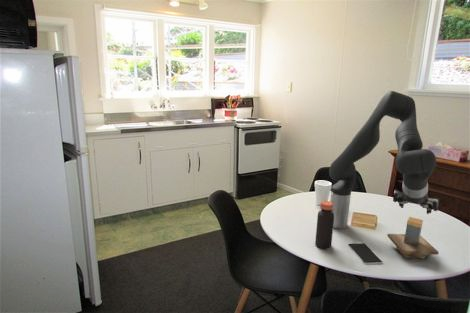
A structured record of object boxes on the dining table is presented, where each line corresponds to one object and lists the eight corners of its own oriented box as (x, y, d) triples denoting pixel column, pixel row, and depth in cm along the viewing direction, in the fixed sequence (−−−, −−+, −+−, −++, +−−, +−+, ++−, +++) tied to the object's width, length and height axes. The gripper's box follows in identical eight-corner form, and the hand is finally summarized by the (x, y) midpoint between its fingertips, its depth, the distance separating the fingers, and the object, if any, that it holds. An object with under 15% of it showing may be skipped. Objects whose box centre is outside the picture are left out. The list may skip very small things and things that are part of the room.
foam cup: (311, 200, 185) (312, 180, 182) (325, 200, 186) (327, 180, 183) (316, 207, 176) (318, 185, 173) (332, 206, 177) (334, 185, 174)
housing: (417, 246, 126) (421, 224, 124) (403, 242, 129) (407, 220, 127) (419, 241, 130) (423, 220, 128) (405, 238, 133) (409, 216, 131)
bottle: (313, 241, 139) (317, 199, 134) (328, 241, 138) (332, 200, 134) (317, 249, 132) (320, 206, 127) (332, 249, 132) (337, 206, 127)
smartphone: (364, 243, 137) (383, 261, 122) (364, 245, 137) (383, 264, 123) (347, 243, 136) (364, 262, 121) (347, 246, 136) (363, 265, 122)
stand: (401, 261, 124) (402, 250, 123) (386, 243, 138) (387, 233, 137) (436, 262, 124) (438, 251, 123) (418, 244, 137) (419, 234, 136)
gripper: (441, 183, 102) (439, 204, 114) (394, 174, 111) (396, 195, 122) (437, 202, 100) (435, 222, 111) (389, 192, 108) (392, 212, 120)
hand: (415, 208), depth 117 cm, fingers open, 8 cm apart
